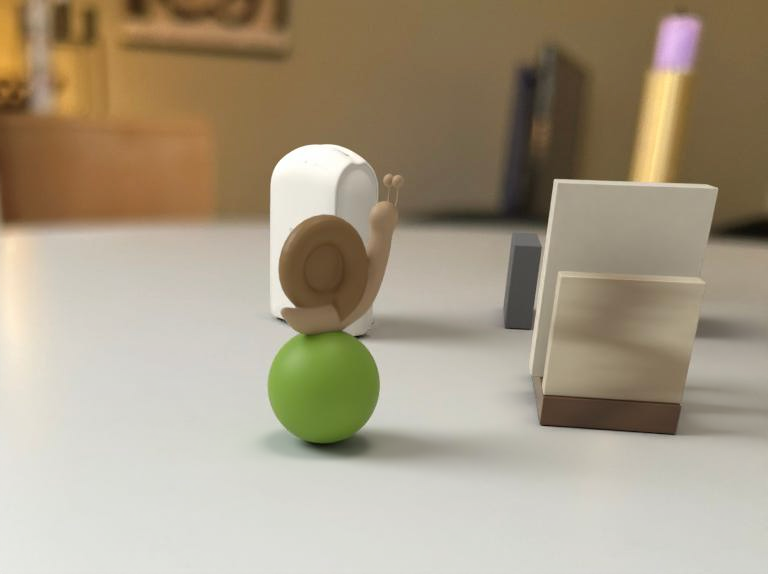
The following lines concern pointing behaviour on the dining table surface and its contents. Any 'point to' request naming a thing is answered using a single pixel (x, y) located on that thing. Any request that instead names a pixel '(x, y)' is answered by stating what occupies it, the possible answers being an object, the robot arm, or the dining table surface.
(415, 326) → the dining table surface
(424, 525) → the dining table surface
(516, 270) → the grey bookends
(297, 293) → the snail figurine
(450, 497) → the dining table surface
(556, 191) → the white book
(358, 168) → the white rounded block
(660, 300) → the wooden card holder
